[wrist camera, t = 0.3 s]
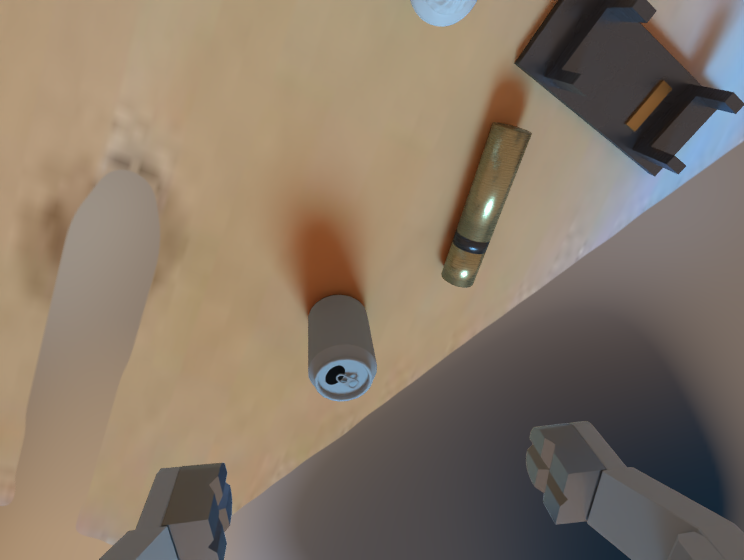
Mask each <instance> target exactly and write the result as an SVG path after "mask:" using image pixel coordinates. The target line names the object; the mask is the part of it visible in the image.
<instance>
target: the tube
mask: <svg viewBox="0 0 744 560" xmlns="http://www.w3.org/2000/svg"><path fill="white" fill-rule="evenodd" d="M531 135H532V133H531V132H529V131H527V130H525V129H522V128H519V127H516V126H512V125H508V124H504V123H498V122H493V124H492V127H491V130H490V133H489V136H488V139H487V142H486V145H485V148H484V151H483V154H482V156H481V159H480V162H479V165H478V168H477V171H476V174H475V177H474V180H473V183H472V186H471V189H470V191H469V194H468V197H467V200H466V203H465V206H464V209H463V212H462V215H461V218H460V221H459V224H458V226H457V229H456V232H455V235H454V238H453V241H452V244H451V247H450V250H449V253H448V256H447V259H446V262H445V264H444V267H443V270H442V273H441V275H442V277H443V279H444V280H445V281H447V282H448V283H450V284H452V285H455V286H458V287H471V286H472V285H473V283H474V281H475V278H476V275H477V273H478V270H479V268H480V265H481V263H482V260H483V258H484V255H485V252H486V250H487V247H488V245H489V242H490V240H491V237H492V234H493V232H494V229H495V227H496V224H497V222H498V219H499V217H500V214H501V211H502V209H503V206H504V204H505V201H506V199H507V196H508V193H509V191H510V188H511V186H512V183H513V181H514V178H515V176H516V173H517V170H518V168H519V165H520V163H521V160H522V158H523V155H524V152H525V150H526V147H527V145H528V142H529V140H530V137H531Z"/></svg>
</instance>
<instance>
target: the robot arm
mask: <svg viewBox="0 0 744 560" xmlns="http://www.w3.org/2000/svg"><path fill="white" fill-rule="evenodd" d="M530 440H531V441H532V443H533V445H532V446H531V447H530V448H529V449H528V450H527V455H526V464H527V470H528V473H529V476H530V479H531V481H532V483H533V484H534V486H535V487H536V488H538V489H539V490H540V491H542V492H543V493H544V497H543V503H544V505H545V506H546V508H547V510H548V512H549V513H550V515H551V517H552V519H553V521H554V522H555V524H565V523H573V522H583V521H587V523H588V524H589V525H590V526H591V527H593V528H594V529H595V530H596V531H598V532H599V533H600V534H601V535H602V536H604V537H605V538H606V539H607V540H608V541H610V542H611V543H612V544H613V545H615V546H616V547H617V548H618V549H619V550H621V551H622V552H623V553H624V554H625V555H627V556H628V557H629V558H630V559H632V560H744V533H743V532H742V531H741V530H740V529H739V528H738V527H737V526H736V525H735V524H734V523H732V522H730V521H728V520H726V519H725V518H723V517H721V516H719V515H718V514H716V513H714V512H712V511H710V510H709V509H707V508H705V507H703V506H701V505H700V504H698V503H696V502H694V501H692V500H690V499H689V498H687V497H685V496H683V495H681V494H680V493H678V492H676V491H674V490H672V489H671V488H669V487H667V486H665V485H663V484H662V483H660V482H658V481H656V480H655V479H653V478H651V477H649V476H647V475H646V474H644V473H642V472H640V471H638V470H637V469H635V468H633V467H629V468H627V467H626V466H625V465H624V463H623V462H622V461H621V460H620V459H619V457H618V456H617V455H616V453H615V452H614V451H613V450H612V449H611V447H610V446H609V445H608V444H607V443H606V441H605V440H604V439H603V438H602V436H601V435H600V434H599V433H598V432H597V430H596V429H595V428H594V427H593V425H592V424H590V423H589V422H587V421H583V422H574V423H568V424H567V423H564V424H556V425H548V426H541V427H534V428H533V429H532V430H531V433H530ZM226 476H227V470H226V466H225V463H214V464H202V465H191V466H182V467H172V468H161V469H160V471H159V472H158V473H157V474H156V477H155V479H154V482H153V485H152V487H151V490H150V492H149V495H148V498H147V500H146V503H145V505H144V508H143V511H142V513H141V516H140V519H139V521H138V524H137V526H136V529H135V530H132V531H128V532H127V533H126V534H125V535H124V536H123V537H122V538H121V539H120V540H119V541H118V542H117V543H115V544H114V545H113V546H112V547H111V548H110V549H109V550H108V551H107V552H106V553H105V554H104V555H103V556H102V557H101V558H100V559H99V560H224V556H225V550H226V545H227V543H226V538H225V534H224V532H225V531H226V530H227V528H228V527H229V526H230V521H231V515H232V494H231V488H230V485H229V484H227V483H226Z"/></svg>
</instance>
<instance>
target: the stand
mask: <svg viewBox="0 0 744 560" xmlns="http://www.w3.org/2000/svg"><path fill="white" fill-rule="evenodd" d="M655 12H656V10H655V9H654V8H653V6H652V5H651V4H650V3H649V2H648V1H647V0H558V2H557V3H556V5H555V6H554V7H553V9H552V10H551V12H550V13H549V15H548V16H547V17H546V19H545V20H544V22H543V23H542V25H541V26H540V28H539V29H538V30H537V32H536V33H535V35H534V36H533V38H532V39H531V40H530V42H529V43H528V45H527V46H526V48H525V49H524V50H523V52H522V53H521V55H520V56H519V58H518V59H517V61H516V62H515V63H514V64H516V65H517V66H518V67H519V68H521V69H522V70H523V71H524V72H525V73H527V74H528V75H529V76H530V77H532V78H533V79H534V80H535V81H536V82H538V83H539V84H540V85H541V86H543V87H544V88H545V89H546V90H547V91H549V92H550V93H551V94H552V95H554V96H555V97H556V98H557V99H558V100H560V101H561V102H562V103H563V104H565V105H566V106H567V107H568V108H569V109H571V110H572V111H573V112H574V113H576V114H577V115H578V116H579V117H581V118H582V119H583V120H584V121H585V122H587V123H588V124H589V125H590V126H592V127H593V128H594V129H595V130H596V131H598V132H599V133H600V134H601V135H603V136H604V137H605V138H606V139H607V140H609V141H610V142H611V143H612V144H614V145H615V146H616V147H617V148H618V149H620V150H621V151H622V152H623V153H625V154H626V155H627V156H628V157H629V158H631V159H632V160H633V161H634V162H636V163H637V164H638V165H639V166H640V167H642V168H643V169H644V170H645V171H647V172H648V173H649V174H651V175H653V176H656V175H657V173H658V172H659V171H660V170H661V169H662V168H665V169H667V170H670V171H672V172H674V173H677V174H679V173H680V172H681V171H682V170H683V169H684V168H685V167H686V165H685V164H684V163H682V162H681V161H680V160H679V159H678V158H677V157H676V156H674V155H675V154H676V153H677V152H678V151H679V150H680V149H681V148H682V146H683V145H684V144H685V143H686V142H687V141H688V140H689V139H690V138H691V137H692V136H693V135H694V134H695V132H696V131H697V130H698V129H699V128H700V127H701V126H702V125H703V124H704V123H705V122H706V121H707V120H708V118H709V117H710V116H711V115H712V114H713V113H714V112H715V111H716V110H717V109H718V110H722V111H726V112H730V113H734V114H736V113H737V112H738V111H739V110H740V109H741V108H742V107H743V106H744V103H743V102H742V101H741V100H740V99H739V98H738V97H737V95H736V94H735V93H734V92H729V91H724V90H719V89H713V88H708V87H703V86H701V85H700V84H699V83H698V82H697V81H696V80H695V79H694V77H693V76H692V75H691V74H690V73H689V72H688V71H687V70H686V69H685V68H684V67H683V66H682V65H681V64H680V63H679V62H678V61H677V60H676V59H675V58H674V57H673V56H672V55H671V54H670V53H669V52H668V51H667V50H666V49H665V48H664V47H663V46H662V45H661V44H660V43H659V42H658V41H657V40H656V39H655V38H654V37H653V36H652V35H651V34H650V33H649V32H648V31H647V30H646V29H645V28H644V27H643V26H642V25H641V24H640V23H639V22H642V23H647V22H648V21H649V20H650V18H651V17H652V16H653V15H654V13H655Z"/></svg>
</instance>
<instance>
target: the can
mask: <svg viewBox="0 0 744 560" xmlns="http://www.w3.org/2000/svg"><path fill="white" fill-rule="evenodd" d="M376 370H377V364H376V358H375V353H374V348H373V343H372V338H371V333H370V327H369V322H368V317H367V313H366V310H365V308H364V306H363V305H362V304H361V303H360V302H359V301H358V300H356V299H354V298H353V297H350V296H345V295H332V296H329V297H326V298H323V299H322V300H320V301H319V302H317V303H316V304H315V305H314V306H313V308H312V309H311V311H310V313H309V316H308V372H309V378H310V380H311V382H312V384H313V385H314V386H315V387H316V389H317V391H318V392H319V393H320V394H321V395H322V396H323V397H325V398H328V399H330V400H334V401H349V400H352V399H355V398H358V397H359V396H361V395H363V394H364V393H365V392H366V391H367V390H368V389H369V388H370V386H371V384H372V381H373V379H374V377H375V375H376Z"/></svg>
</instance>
